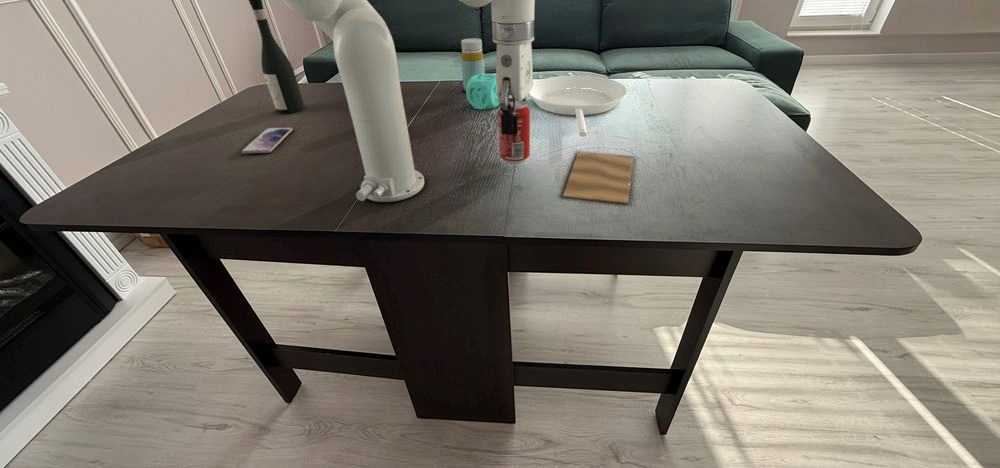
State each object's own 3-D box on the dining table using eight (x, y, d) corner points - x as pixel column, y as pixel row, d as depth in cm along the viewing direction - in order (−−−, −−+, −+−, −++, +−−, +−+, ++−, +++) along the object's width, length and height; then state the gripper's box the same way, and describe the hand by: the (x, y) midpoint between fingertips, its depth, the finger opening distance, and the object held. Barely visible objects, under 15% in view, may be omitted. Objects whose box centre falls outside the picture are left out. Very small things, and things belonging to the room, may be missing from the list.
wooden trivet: (627, 204, 78) (628, 202, 78) (562, 196, 81) (562, 195, 81) (632, 157, 93) (632, 156, 93) (578, 152, 96) (578, 151, 96)
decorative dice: (480, 99, 129) (478, 72, 125) (503, 102, 126) (502, 74, 122) (467, 107, 124) (464, 79, 119) (491, 111, 121) (489, 82, 116)
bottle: (460, 89, 139) (456, 39, 130) (480, 85, 141) (477, 37, 132) (468, 95, 133) (464, 43, 125) (489, 91, 136) (486, 40, 127)
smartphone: (293, 127, 114) (269, 150, 101) (294, 130, 114) (270, 153, 102) (266, 127, 114) (239, 151, 101) (267, 130, 114) (241, 154, 102)
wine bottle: (281, 116, 123) (241, -1, 106) (273, 109, 128) (233, -3, 111) (308, 109, 127) (274, -4, 110) (300, 103, 132) (266, -6, 115)
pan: (618, 87, 134) (620, 74, 132) (644, 145, 98) (646, 129, 96) (528, 88, 137) (528, 75, 134) (521, 145, 101) (521, 129, 99)
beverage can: (530, 153, 93) (530, 98, 86) (528, 166, 88) (529, 109, 81) (501, 152, 93) (499, 98, 86) (498, 165, 88) (496, 109, 81)
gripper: (521, 42, 68) (521, 146, 79) (543, 23, 82) (541, 114, 92) (477, 41, 70) (483, 142, 81) (506, 22, 84) (508, 111, 94)
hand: (514, 126), depth 86 cm, fingers closed on beverage can, 6 cm apart
